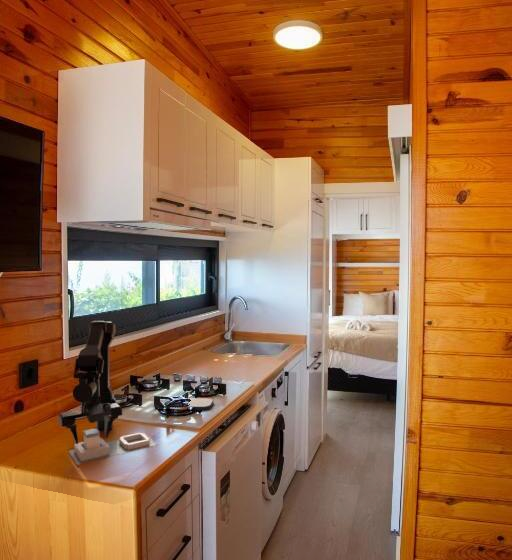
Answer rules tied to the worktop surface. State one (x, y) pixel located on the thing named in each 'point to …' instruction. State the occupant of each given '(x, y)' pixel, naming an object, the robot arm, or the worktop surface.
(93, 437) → the plug
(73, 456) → the panel
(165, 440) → the worktop surface
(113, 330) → the robot arm
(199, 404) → the external hard drive
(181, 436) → the worktop surface
